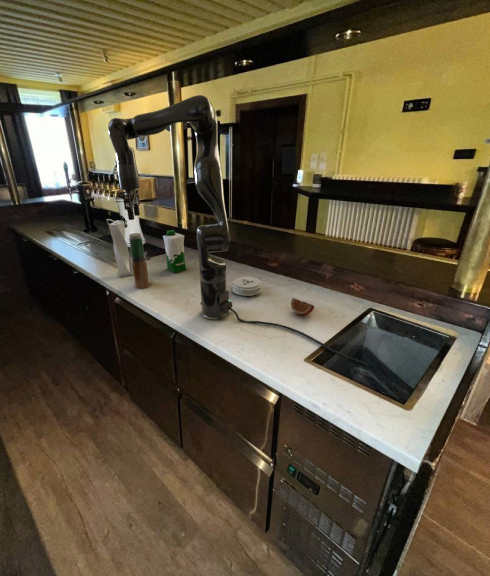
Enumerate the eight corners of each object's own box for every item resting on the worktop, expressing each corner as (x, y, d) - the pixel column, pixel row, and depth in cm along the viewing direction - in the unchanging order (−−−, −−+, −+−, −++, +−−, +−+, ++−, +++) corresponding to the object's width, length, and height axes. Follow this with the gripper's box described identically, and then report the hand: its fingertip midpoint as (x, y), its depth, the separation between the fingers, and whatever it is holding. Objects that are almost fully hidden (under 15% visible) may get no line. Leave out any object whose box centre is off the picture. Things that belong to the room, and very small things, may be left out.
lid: (238, 283, 136) (238, 273, 134) (265, 287, 131) (266, 276, 129) (227, 294, 126) (227, 284, 124) (256, 299, 121) (256, 288, 118)
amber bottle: (152, 284, 139) (148, 254, 133) (142, 289, 134) (137, 258, 128) (142, 281, 142) (138, 252, 136) (132, 286, 138) (127, 256, 132)
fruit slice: (286, 311, 111) (287, 299, 109) (297, 305, 115) (298, 294, 113) (306, 320, 105) (307, 307, 103) (317, 313, 109) (318, 301, 106)
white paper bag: (117, 277, 148) (106, 221, 137) (116, 272, 155) (106, 217, 144) (134, 274, 151) (125, 218, 139) (132, 269, 158) (124, 215, 146)
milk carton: (178, 265, 160) (175, 228, 152) (188, 269, 154) (186, 231, 146) (164, 270, 155) (160, 231, 147) (175, 274, 149) (171, 234, 140)
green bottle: (146, 254, 133) (144, 233, 129) (137, 258, 129) (134, 236, 125) (138, 252, 136) (135, 232, 132) (129, 256, 132) (125, 235, 128)
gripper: (124, 175, 125) (130, 214, 132) (113, 178, 112) (120, 221, 119) (142, 174, 125) (147, 214, 132) (132, 177, 112) (138, 221, 119)
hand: (134, 217), depth 125 cm, fingers open, 8 cm apart
